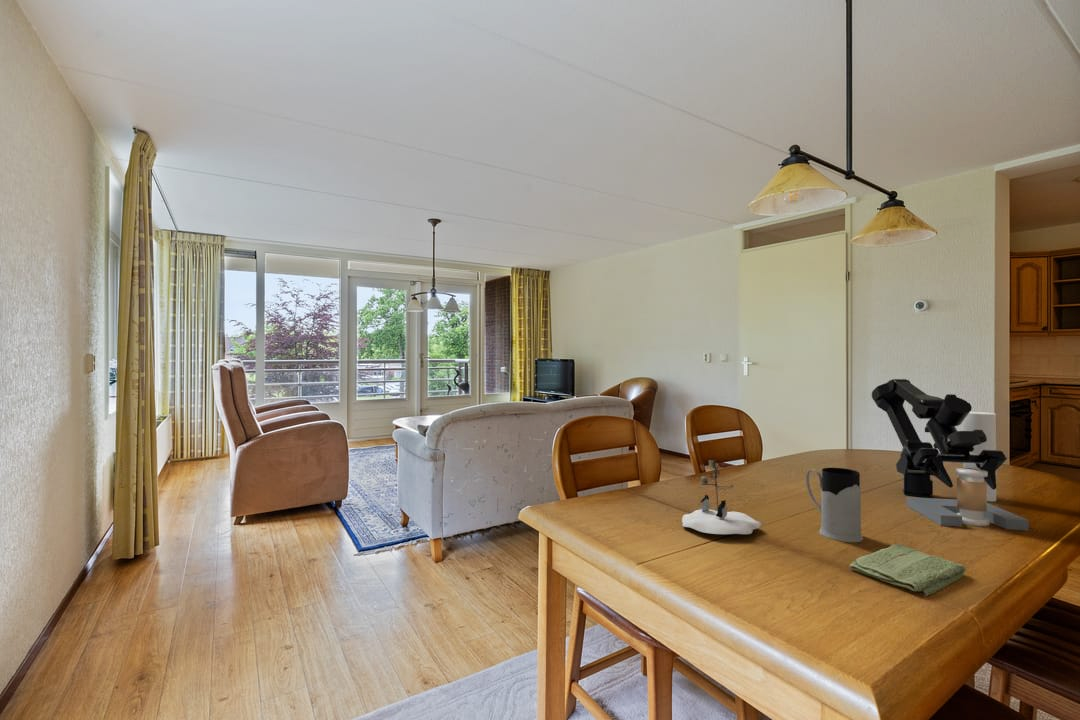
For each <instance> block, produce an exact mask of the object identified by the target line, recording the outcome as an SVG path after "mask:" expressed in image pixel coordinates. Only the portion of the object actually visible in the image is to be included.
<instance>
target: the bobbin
mask: <svg viewBox="0 0 1080 720" xmlns="http://www.w3.org/2000/svg"><path fill="white" fill-rule="evenodd" d="M955 473H956V474H957V475H958V477H957V478H956V500H957V507H959V513H956V514H958V515H960V516H962V524H964V525H968V526H975V527H989V526H990V525H991V522H990V520H989V519H988V518H986V517H984V511H987V503H988V501H987V482H986V481H984V477H987V476H988V472H987V471H985V470H980V469H974V468H963V467H955Z"/></svg>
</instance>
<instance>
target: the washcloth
mask: <svg viewBox="0 0 1080 720" xmlns="http://www.w3.org/2000/svg"><path fill="white" fill-rule="evenodd" d="M848 567H849V569H851V570H853V571H854V572H857V573H859V574H861V575H862V574H863V575H865V576H868V577H870V578H874V579H876V580H879V581H881V582H884V583H889V584H890V585H894V586H898V587H901V588H904V589H906V590H909V591H912V592H915V593H916V592H917V593H916V594H919V593H920V595H921V594H922V596H924V595H925V596H924V597H928V595H930V596H931V595H933V594H935V593H936V592H938V590H939V591H940V590H942V589H945V588H946V587H948V586H949V585H950V584H953V583H955V582H956V581H958V580H960V579H961V578H963V576H964V574H965V572H966V571H967V570H966V568H965V566H964V565H963V564H961V563H958V562H955V561H952V560H949V559H945V558H942V557H939V556H936V555H933V554H932V555H930V554H928V553H925V552H923V551H920V550H917V549H916V548H913V547H909V546H906V545H904V544H901V543H898V542H897V543H893V544H891V545H890V546H889V547H887V548H882V549H881V548H880V549H879V550H877V551H875V552H872V553H870V554H866V555H862V556H860V557H858V558H856V559H855V560H854V561H851V563H850V564H849V566H848Z"/></svg>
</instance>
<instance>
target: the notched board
mask: <svg viewBox="0 0 1080 720" xmlns="http://www.w3.org/2000/svg"><path fill="white" fill-rule="evenodd" d="M906 507H907V508H909V509H911V510H913V511H915V512H916V513H918V514H920V515H922V516H924V517H925V518H927V519H929V520H930V521H932V522H934V523H936V524H938V525H939V526H944V527H945V526H946V527H947V526H948V527H963V523H962V516H960V515H958V514H956V513H959V507H957V498H956V499H955V498H953V499H951V498H935V497H933V498H932V497H931V498H929V497H917V496H914V497H912V496H907V497H906ZM984 517H986V518H988V519H989V520H990V523H992V524H994V525H996V526H998V527H1000V528H1001V529H1002V528H1003V529H1004V530H1010V531H1011V530H1013V531H1026V532H1027V531H1029V526H1030V525H1029V520H1028V519H1027V518H1024V517H1021V516H1020V515H1017V514H1015V513H1012V512H1010V511H1008V510H1005V509H1003V508H1001V507H998V506H997V505H993V504H991V503H989V502H987V511H984Z"/></svg>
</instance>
